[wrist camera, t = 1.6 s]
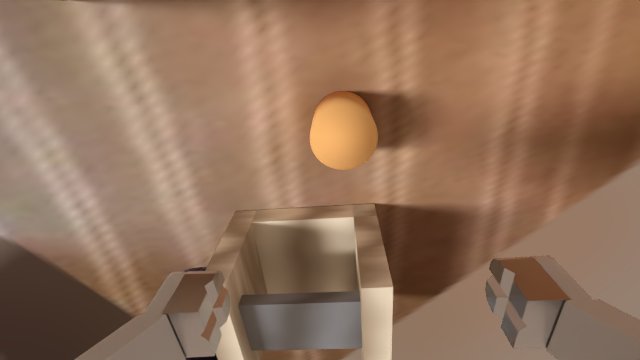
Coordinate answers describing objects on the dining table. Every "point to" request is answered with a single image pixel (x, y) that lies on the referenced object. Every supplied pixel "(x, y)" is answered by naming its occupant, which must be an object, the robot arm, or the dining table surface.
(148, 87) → the dining table surface
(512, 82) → the dining table surface
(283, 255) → the wooden napkin holder
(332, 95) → the brown egg
